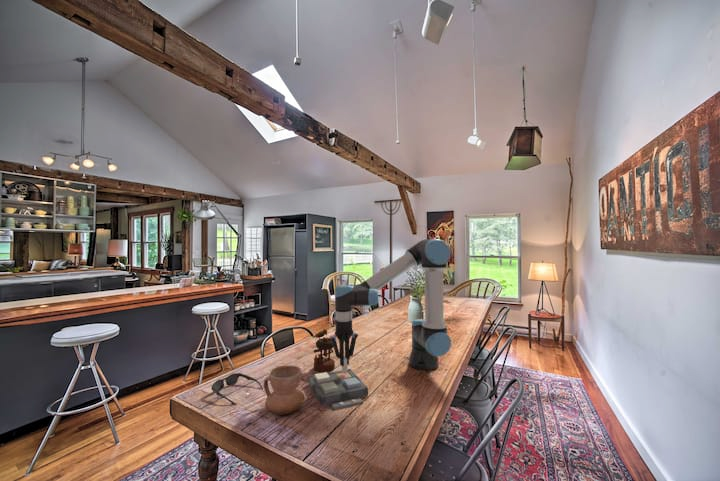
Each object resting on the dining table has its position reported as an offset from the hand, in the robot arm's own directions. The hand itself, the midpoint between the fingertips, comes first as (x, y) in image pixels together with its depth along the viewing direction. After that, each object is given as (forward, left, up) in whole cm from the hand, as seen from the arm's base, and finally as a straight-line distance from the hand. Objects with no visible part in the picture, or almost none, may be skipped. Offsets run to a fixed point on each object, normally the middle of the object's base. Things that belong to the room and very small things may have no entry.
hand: (344, 372), depth 134 cm
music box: (+3, -19, -5) cm, 20 cm away
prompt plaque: (+5, +17, -5) cm, 19 cm away
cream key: (+10, 0, -2) cm, 11 cm away
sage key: (+10, +10, -2) cm, 14 cm away
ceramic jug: (+28, +10, -5) cm, 30 cm away
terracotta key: (0, 0, -4) cm, 4 cm away
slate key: (0, +10, -2) cm, 10 cm away
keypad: (+5, +5, -5) cm, 9 cm away
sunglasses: (+45, -10, -5) cm, 46 cm away
